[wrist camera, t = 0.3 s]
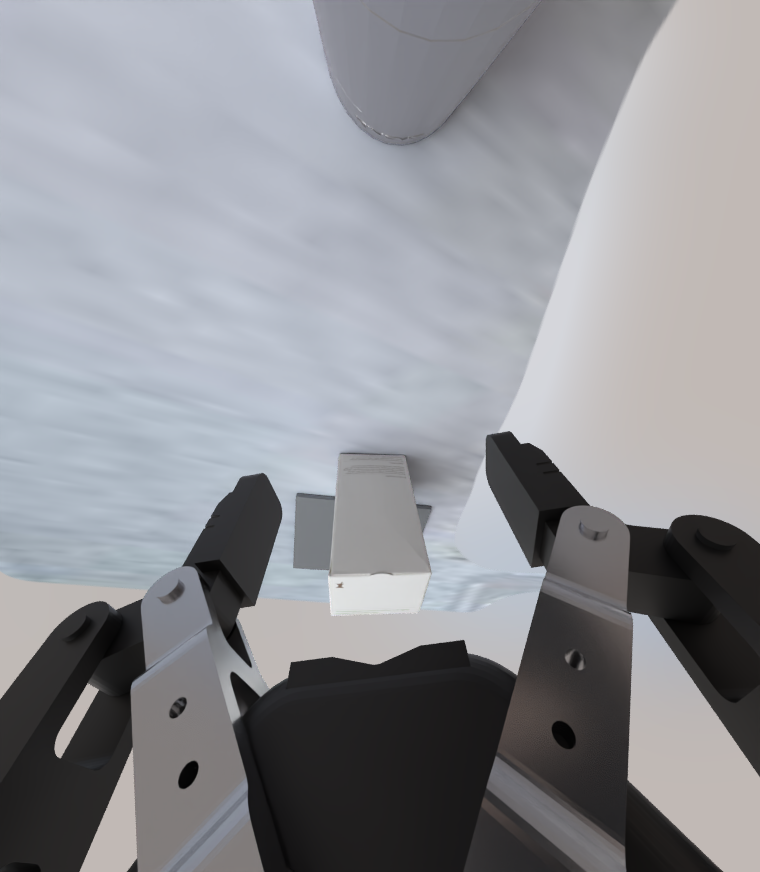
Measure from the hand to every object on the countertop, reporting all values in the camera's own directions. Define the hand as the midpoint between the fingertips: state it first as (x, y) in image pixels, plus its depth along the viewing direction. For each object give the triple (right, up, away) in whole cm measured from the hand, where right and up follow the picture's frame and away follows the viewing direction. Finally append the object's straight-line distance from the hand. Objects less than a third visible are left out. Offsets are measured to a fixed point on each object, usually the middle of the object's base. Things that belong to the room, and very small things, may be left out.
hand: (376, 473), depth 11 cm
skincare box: (-1, -3, +27) cm, 27 cm away
